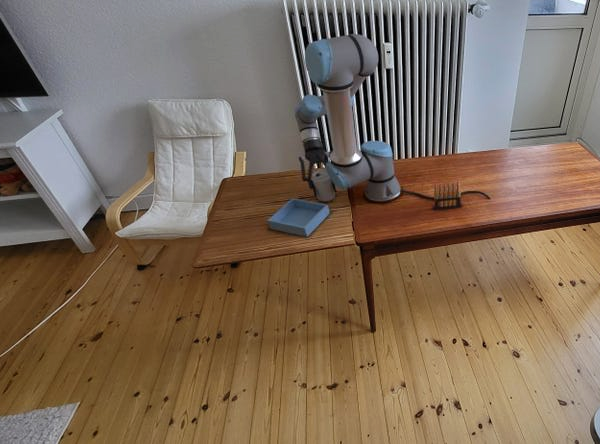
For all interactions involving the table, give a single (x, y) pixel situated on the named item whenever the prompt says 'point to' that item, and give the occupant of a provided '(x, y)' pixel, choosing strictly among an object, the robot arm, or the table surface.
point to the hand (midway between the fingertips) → (325, 193)
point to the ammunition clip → (451, 199)
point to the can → (323, 186)
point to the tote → (299, 217)
